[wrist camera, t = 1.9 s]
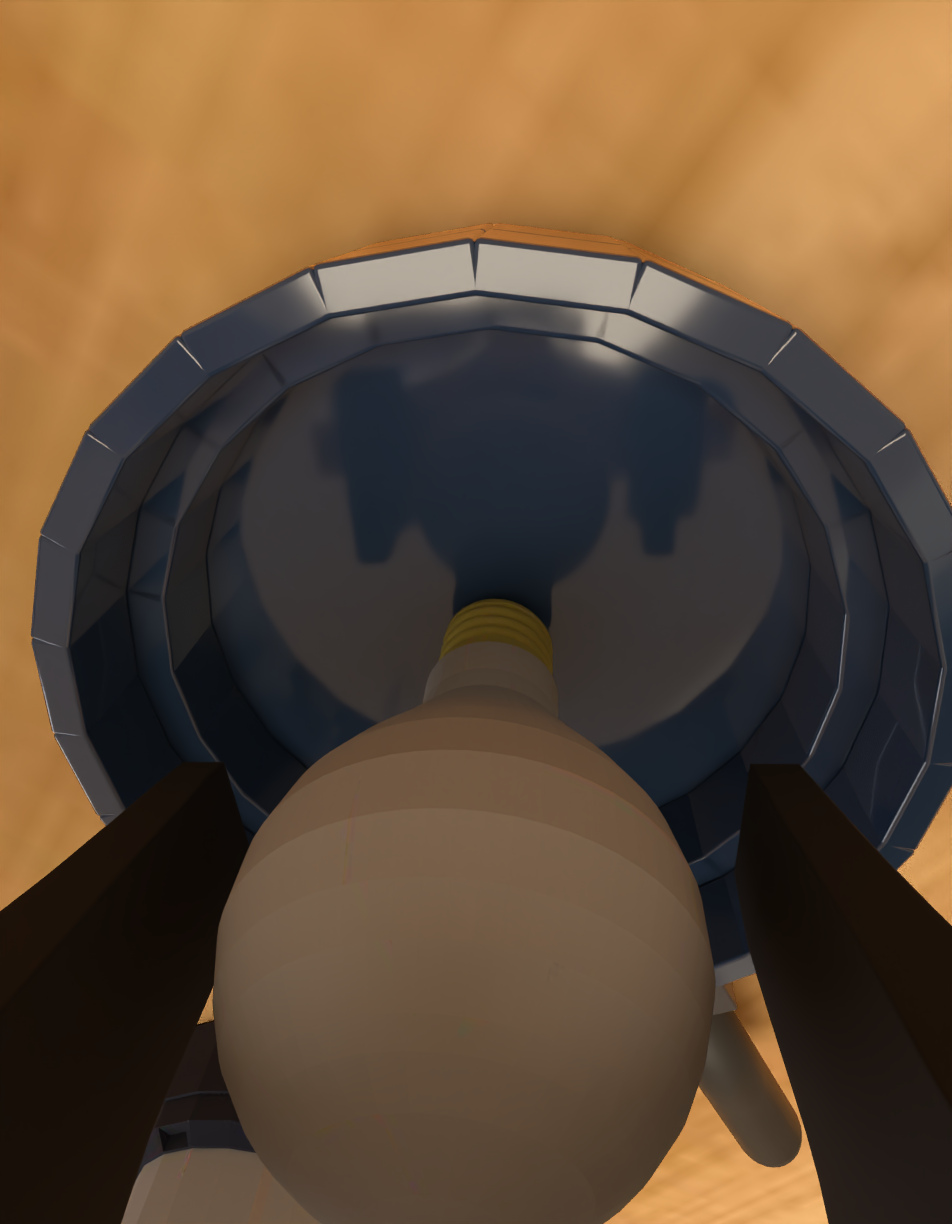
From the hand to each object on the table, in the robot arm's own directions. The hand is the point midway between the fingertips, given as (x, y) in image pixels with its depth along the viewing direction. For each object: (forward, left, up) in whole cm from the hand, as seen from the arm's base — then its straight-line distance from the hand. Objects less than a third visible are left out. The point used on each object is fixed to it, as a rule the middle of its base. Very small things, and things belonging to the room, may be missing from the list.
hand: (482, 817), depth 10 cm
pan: (0, 0, -5) cm, 5 cm away
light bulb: (0, 0, -5) cm, 5 cm away
